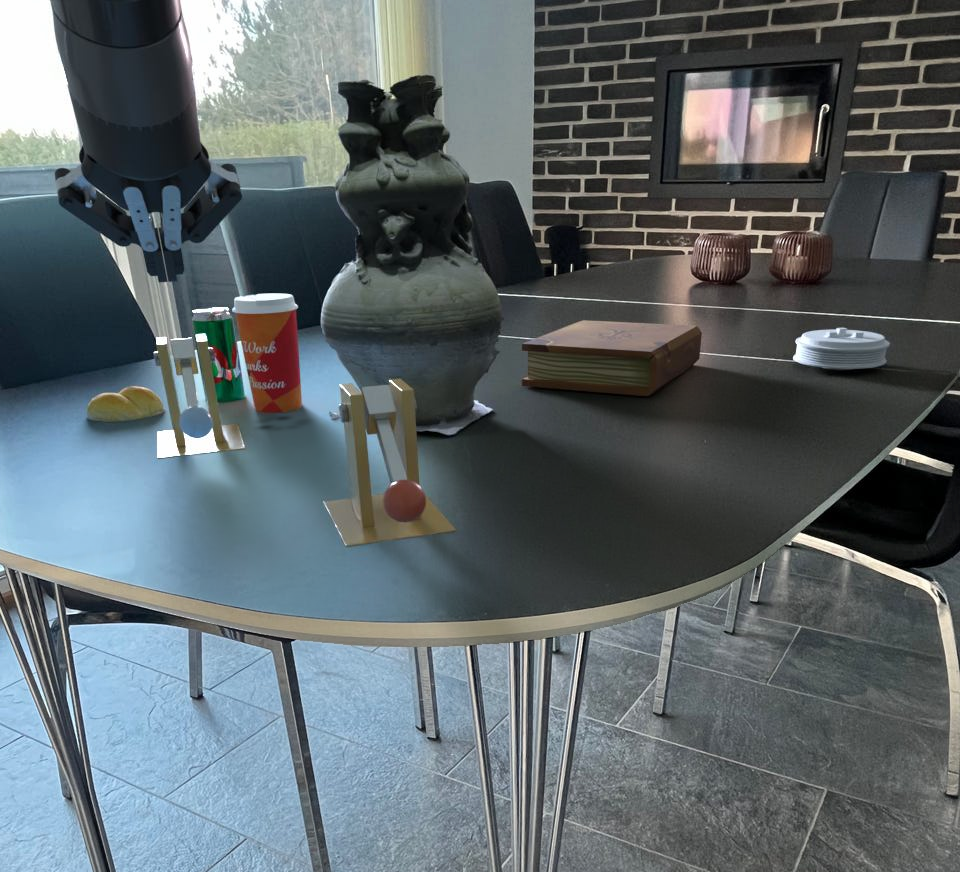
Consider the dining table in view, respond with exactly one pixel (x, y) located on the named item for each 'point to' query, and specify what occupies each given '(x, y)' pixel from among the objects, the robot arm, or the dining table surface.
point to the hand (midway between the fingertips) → (166, 273)
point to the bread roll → (125, 405)
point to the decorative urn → (410, 259)
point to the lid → (841, 349)
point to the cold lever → (190, 390)
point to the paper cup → (270, 350)
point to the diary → (612, 356)
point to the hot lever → (391, 456)
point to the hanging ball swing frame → (176, 439)
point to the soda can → (221, 352)
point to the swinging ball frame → (364, 511)
